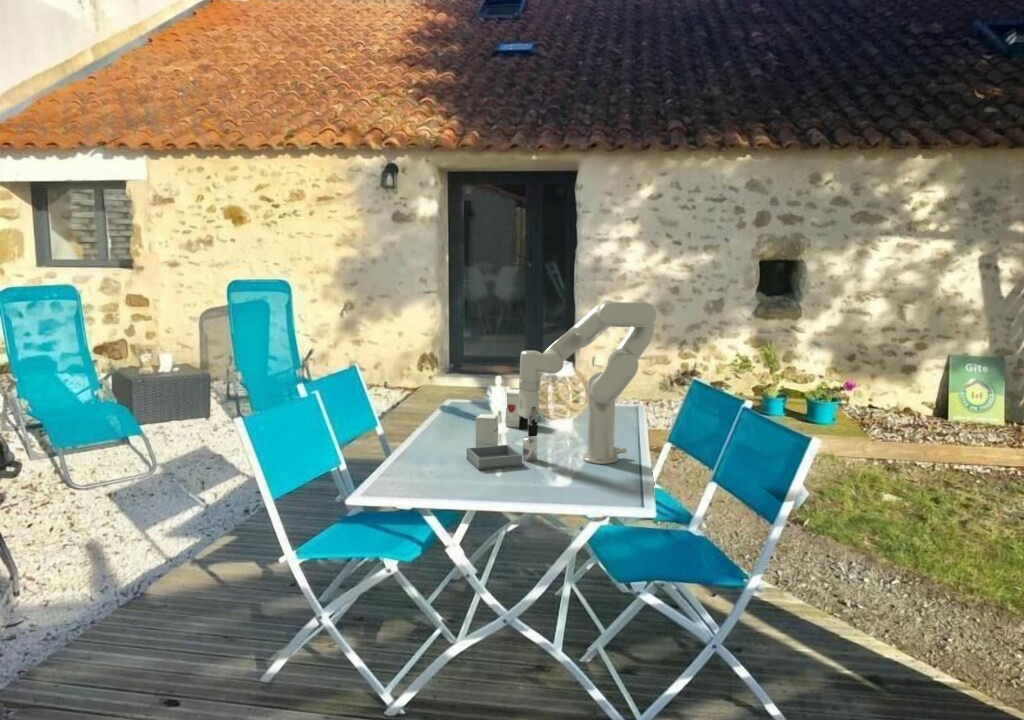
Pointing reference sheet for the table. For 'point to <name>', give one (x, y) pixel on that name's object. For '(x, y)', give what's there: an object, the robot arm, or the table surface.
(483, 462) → the tray
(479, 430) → the supplement box
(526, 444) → the tin can
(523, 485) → the table surface
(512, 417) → the supplement box
